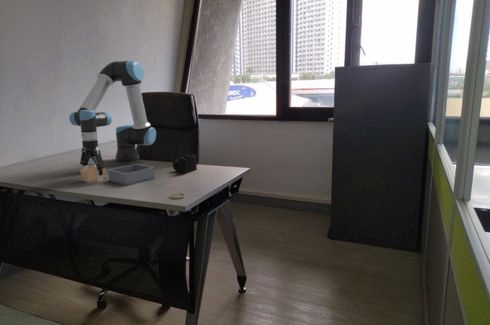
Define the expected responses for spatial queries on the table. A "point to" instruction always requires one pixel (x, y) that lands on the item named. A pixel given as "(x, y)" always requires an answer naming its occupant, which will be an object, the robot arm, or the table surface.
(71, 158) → the table surface
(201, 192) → the table surface
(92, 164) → the syrup box
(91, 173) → the small crate
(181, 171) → the camera
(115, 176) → the large crate
